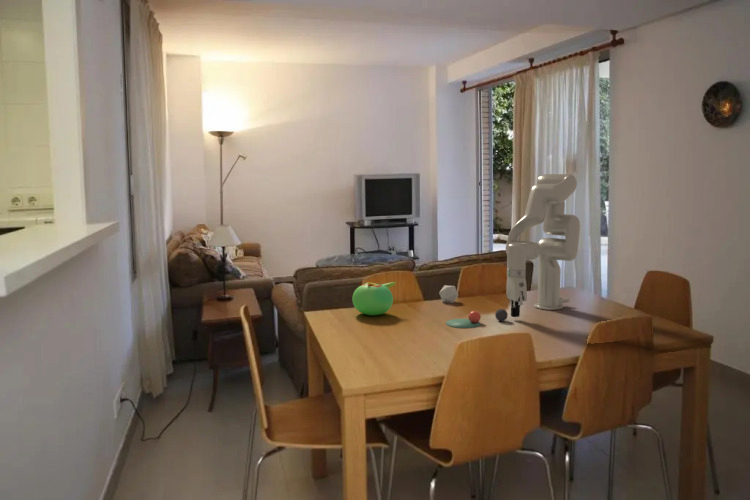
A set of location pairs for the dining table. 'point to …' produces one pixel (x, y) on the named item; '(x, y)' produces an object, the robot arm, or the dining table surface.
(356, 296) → the green apple
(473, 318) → the red ball
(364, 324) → the dining table surface
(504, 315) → the black ball
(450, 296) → the die
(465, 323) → the green mark
